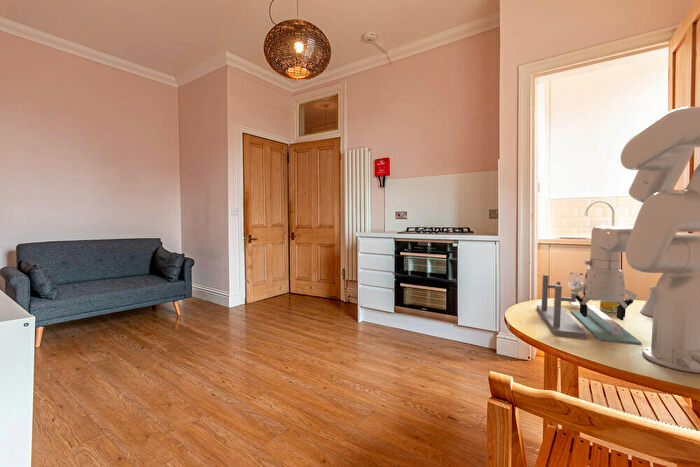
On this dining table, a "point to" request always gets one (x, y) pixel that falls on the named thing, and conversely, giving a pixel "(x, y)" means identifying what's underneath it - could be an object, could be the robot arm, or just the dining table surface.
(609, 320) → the steel rail
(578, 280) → the wineglass
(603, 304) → the supplement bottle
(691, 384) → the dining table surface
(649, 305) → the flask
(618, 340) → the teal mat
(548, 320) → the rail stand
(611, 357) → the dining table surface
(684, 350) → the robot arm
